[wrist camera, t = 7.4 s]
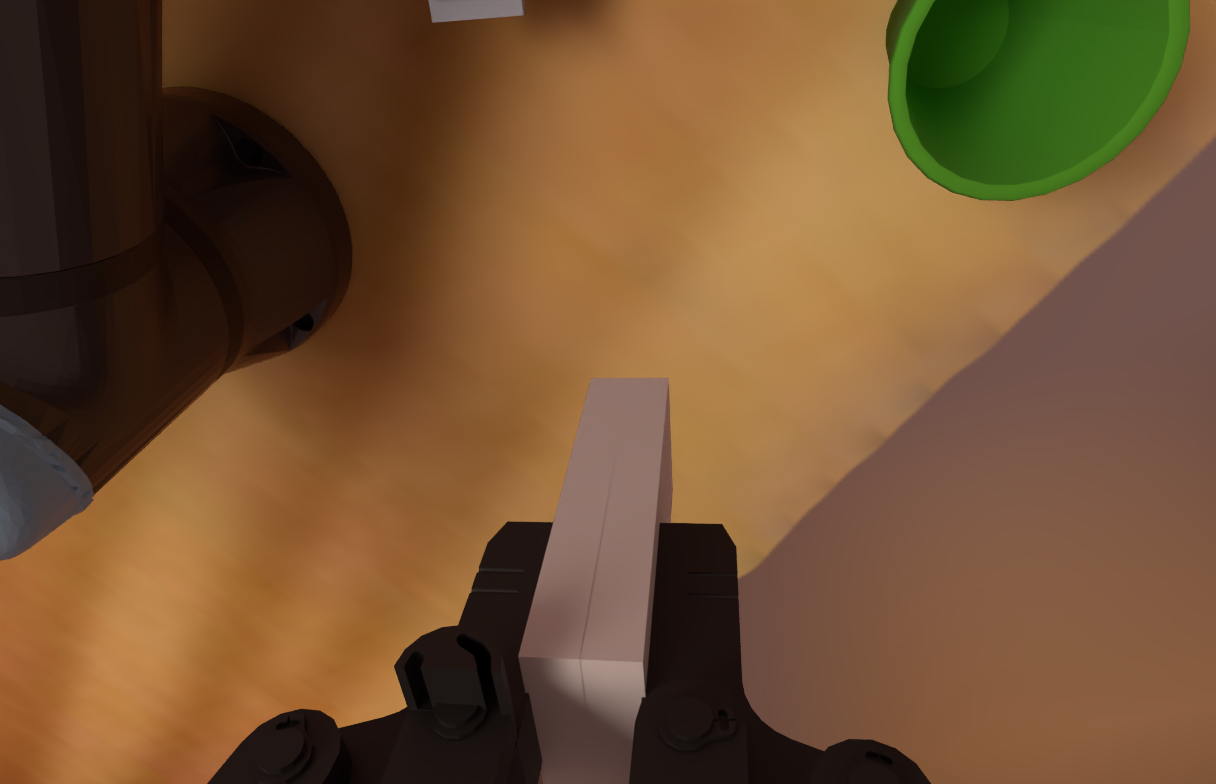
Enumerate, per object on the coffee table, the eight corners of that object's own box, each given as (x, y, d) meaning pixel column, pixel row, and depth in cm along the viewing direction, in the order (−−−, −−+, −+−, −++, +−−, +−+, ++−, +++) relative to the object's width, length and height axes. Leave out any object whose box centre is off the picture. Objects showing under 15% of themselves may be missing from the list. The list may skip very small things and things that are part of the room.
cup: (830, -56, 32) (879, -50, 23) (1060, -121, 30) (1215, -143, 21) (849, 150, 37) (897, 226, 28) (1051, 106, 35) (1176, 171, 26)
